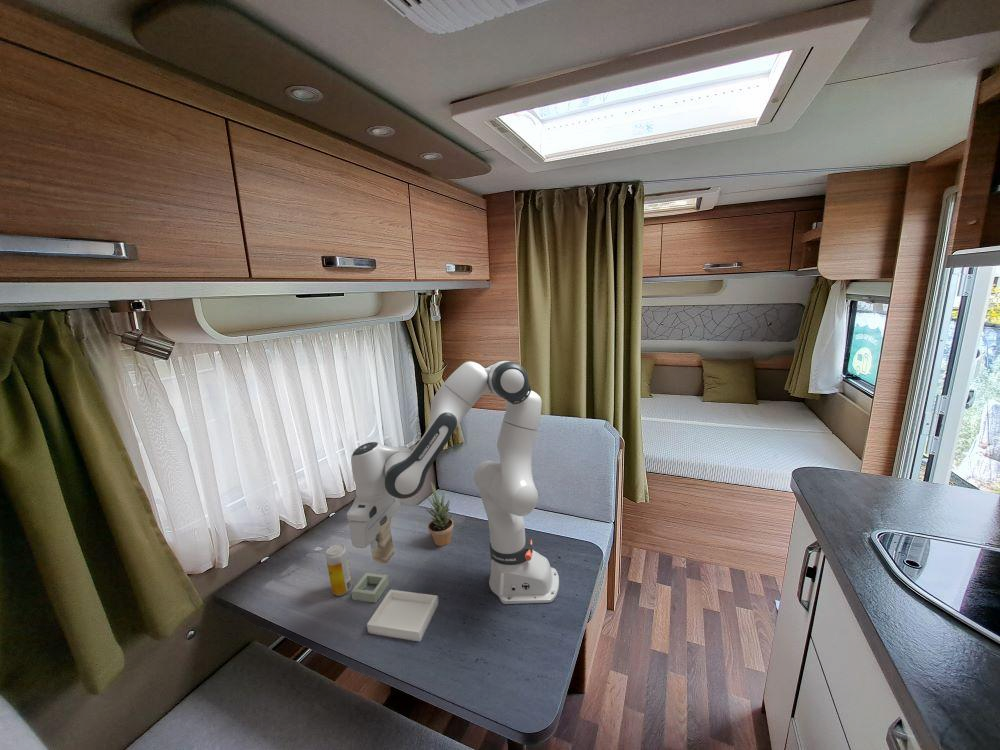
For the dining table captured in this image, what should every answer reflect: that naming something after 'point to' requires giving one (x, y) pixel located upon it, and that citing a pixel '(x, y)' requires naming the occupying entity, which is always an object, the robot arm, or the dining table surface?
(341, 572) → the orange pill bottle
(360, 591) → the socket block
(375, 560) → the wooden pepper mill
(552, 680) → the dining table surface
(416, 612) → the tray
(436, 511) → the potted plant
